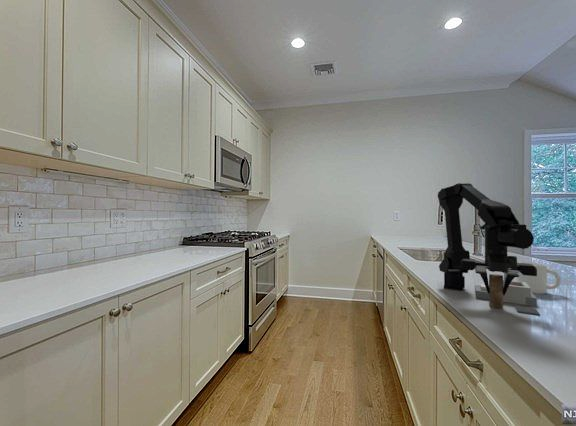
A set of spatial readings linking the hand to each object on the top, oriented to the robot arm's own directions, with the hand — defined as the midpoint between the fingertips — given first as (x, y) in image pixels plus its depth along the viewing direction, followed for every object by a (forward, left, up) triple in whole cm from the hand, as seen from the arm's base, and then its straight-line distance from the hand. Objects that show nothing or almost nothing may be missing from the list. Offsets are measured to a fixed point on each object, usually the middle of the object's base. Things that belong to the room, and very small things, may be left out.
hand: (495, 294), depth 87 cm
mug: (+15, +29, -4) cm, 32 cm away
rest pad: (+7, 0, -4) cm, 8 cm away
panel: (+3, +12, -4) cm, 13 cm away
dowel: (0, 0, -4) cm, 4 cm away
